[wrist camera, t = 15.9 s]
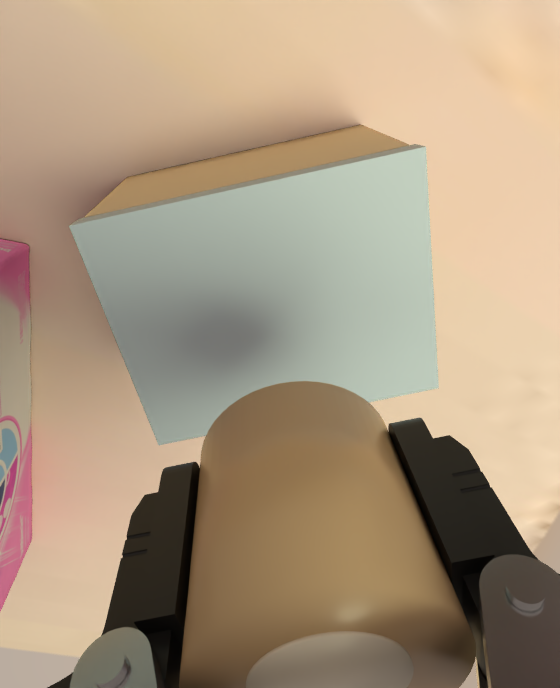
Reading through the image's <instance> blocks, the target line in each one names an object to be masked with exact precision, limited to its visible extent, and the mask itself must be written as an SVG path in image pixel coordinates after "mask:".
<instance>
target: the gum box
mask: <svg viewBox="0 0 560 688" xmlns="http://www.w3.org/2000/svg"><path fill="white" fill-rule="evenodd" d="M30 346H31V314H30V292H29V246H28V245H27V244H24V243H19V242H13V241H8V240H3V239H0V611H1V609H2V607H3V604H4V602H5V600H6V598H7V595H8V593H9V590H10V588H11V586H12V584H13V582H14V580H15V577H16V575H17V573H18V570H19V568H20V566H21V563H22V561H23V558H24V556H25V554H26V552H27V549H28V547H29V545H30V543H31V539H32V486H31V462H32V436H31V394H32V390H31V375H30Z"/></svg>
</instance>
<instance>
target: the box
mask: <svg viewBox="0 0 560 688" xmlns="http://www.w3.org/2000/svg"><path fill="white" fill-rule="evenodd" d="M405 146H409V144H406V143H404V142H402V141H399V140H397V139H394V138H392V137H390V136H387V135H385V134H382V133H380V132H378V131H375V130H373V129H370V128H368V127H366V126H363V125H357V126H353V127H348V128H344V129H339V130H335V131H330V132H326V133H322V134H317V135H313V136H308V137H304V138H299V139H295V140H290V141H286V142H281V143H277V144H273V145H268V146H264V147H259V148H255V149H250V150H246V151H241V152H237V153H233V154H228V155H224V156H219V157H215V158H210V159H206V160H201V161H197V162H192V163H188V164H184V165H179V166H175V167H170V168H166V169H161V170H157V171H152V172H148V173H143V174H139V175H135V176H130V177H127V178H126V179H125V180H124V181H123V182H122V183H120V184H119V185H118V186H117V187H116V188H115V189H114V190H113V191H112V192H111V193H110V194H109V195H108V196H106V197H105V198H104V199H103V200H102V201H101V202H100V203H99V204H98V205H97V206H96V207H95V208H93V209H92V210H91V211H90V212H89V213H88V214H87V215H86V216H85V218H86V217H90V216H95V215H99V214H104V213H108V212H113V211H117V210H122V209H126V208H131V207H135V206H140V205H144V204H149V203H153V202H158V201H162V200H167V199H171V198H176V197H180V196H185V195H189V194H194V193H198V192H203V191H207V190H212V189H216V188H221V187H225V186H230V185H234V184H239V183H243V182H248V181H252V180H257V179H261V178H266V177H270V176H275V175H279V174H284V173H288V172H293V171H297V170H302V169H306V168H311V167H315V166H320V165H324V164H329V163H333V162H338V161H342V160H347V159H351V158H356V157H360V156H365V155H369V154H374V153H378V152H383V151H387V150H392V149H396V148H401V147H405Z"/></svg>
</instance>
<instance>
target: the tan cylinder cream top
mask: <svg viewBox="0 0 560 688" xmlns="http://www.w3.org/2000/svg"><path fill="white" fill-rule="evenodd" d="M475 656H476V642H475V639H474V636H473V633H472V631H471V628H470V626H469V624H468V621H467V619H466V616H465V614H464V612H463V609H462V607H461V604H460V602H459V600H458V597H457V595H456V593H455V590H454V588H453V585H452V583H451V581H450V578H449V576H448V573H447V571H446V569H445V566H444V564H443V561H442V559H441V557H440V554H439V552H438V550H437V547H436V545H435V542H434V540H433V538H432V535H431V533H430V530H429V528H428V526H427V523H426V521H425V518H424V516H423V514H422V511H421V509H420V506H419V504H418V502H417V499H416V497H415V495H414V492H413V490H412V487H411V485H410V483H409V480H408V478H407V475H406V473H405V471H404V468H403V466H402V463H401V461H400V459H399V456H398V454H397V452H396V449H395V447H394V444H393V442H392V440H391V437H390V435H389V432H388V430H387V428H386V425H385V423H384V421H383V419H382V418H381V416H380V414H379V413H378V412H377V411H376V410H375V408H374V407H373V406H372V405H371V404H369V403H368V402H367V401H366V400H365V399H363V398H362V397H360V396H359V395H357V394H355V393H353V392H351V391H349V390H347V389H345V388H342V387H339V386H335V385H332V384H327V383H322V382H312V381H294V382H286V383H279V384H275V385H271V386H267V387H264V388H261V389H259V390H256V391H254V392H251V393H250V394H248V395H246V396H244V397H242V398H240V399H239V400H237V401H236V402H234V403H233V404H231V405H230V406H229V407H228V408H227V409H226V410H224V411H223V412H222V413H221V414H220V415H219V417H218V418H217V419H216V420H215V421H214V423H213V424H212V426H211V427H210V429H209V430H208V433H207V435H206V437H205V439H204V443H203V447H202V452H201V462H200V473H199V483H198V493H197V504H196V514H195V524H194V534H193V545H192V555H191V565H190V575H189V586H188V596H187V606H186V617H185V627H184V637H183V647H182V658H181V668H180V680H179V688H459V687H460V686H461V685H462V683H463V682H464V681H465V679H466V678H467V676H468V675H469V673H470V672H471V669H472V667H473V664H474V662H475Z"/></svg>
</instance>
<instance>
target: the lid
mask: <svg viewBox="0 0 560 688" xmlns="http://www.w3.org/2000/svg"><path fill="white" fill-rule="evenodd" d="M69 228H70V230H71V232H72V235H73V237H74V240H75V242H76V245H77V247H78V249H79V252H80V254H81V257H82V259H83V262H84V264H85V267H86V269H87V271H88V274H89V276H90V279H91V281H92V284H93V286H94V289H95V291H96V293H97V296H98V298H99V301H100V303H101V306H102V308H103V310H104V313H105V315H106V318H107V320H108V323H109V325H110V328H111V330H112V332H113V335H114V337H115V340H116V342H117V345H118V347H119V349H120V352H121V354H122V357H123V359H124V362H125V364H126V367H127V369H128V371H129V374H130V376H131V379H132V381H133V384H134V386H135V389H136V391H137V393H138V396H139V398H140V401H141V403H142V406H143V408H144V410H145V413H146V415H147V418H148V420H149V423H150V425H151V428H152V430H153V432H154V435H155V437H156V440H157V442H158V445H163V444H167V443H172V442H177V441H182V440H187V439H192V438H197V437H202V436H206V435H207V433H208V430H209V429H210V427H211V426H212V424H213V423H214V421H215V420H216V419H217V418H218V417H219V415H220V414H221V413H222V412H223V411H224V410H226V409H227V408H228V407H229V406H230V405H231V404H233V403H234V402H236V401H237V400H239V399H240V398H242V397H244V396H246V395H248V394H250V393H251V392H254V391H256V390H259V389H261V388H264V387H267V386H271V385H275V384H279V383H286V382H294V381H312V382H322V383H327V384H332V385H335V386H339V387H342V388H345V389H347V390H349V391H351V392H353V393H355V394H357V395H359V396H360V397H362V398H363V399H365V400H366V401H367V402H373V401H378V400H383V399H388V398H392V397H397V396H402V395H407V394H412V393H417V392H422V391H427V390H432V389H436V388H439V386H438V367H437V348H436V330H435V311H434V292H433V273H432V254H431V235H430V216H429V198H428V179H427V160H426V147H425V146H421V145H416V144H414V145H410V146H405V147H401V148H396V149H392V150H387V151H383V152H378V153H374V154H369V155H365V156H360V157H356V158H351V159H347V160H342V161H338V162H333V163H329V164H324V165H320V166H315V167H311V168H306V169H302V170H297V171H293V172H288V173H284V174H279V175H275V176H270V177H266V178H261V179H257V180H252V181H248V182H243V183H239V184H234V185H230V186H225V187H221V188H216V189H212V190H207V191H203V192H198V193H194V194H189V195H185V196H180V197H176V198H171V199H167V200H162V201H158V202H153V203H149V204H144V205H140V206H135V207H131V208H126V209H122V210H117V211H113V212H108V213H104V214H99V215H95V216H90V217H86V218H81V219H78V220H77V221H75V222H74V223H72V224H71V225H69Z"/></svg>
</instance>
